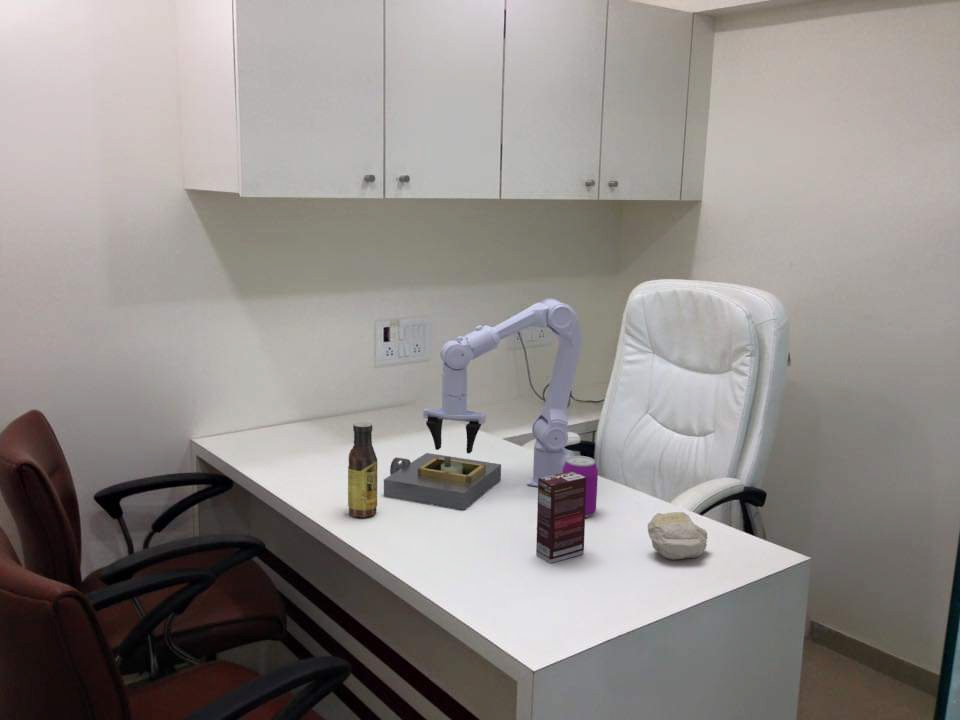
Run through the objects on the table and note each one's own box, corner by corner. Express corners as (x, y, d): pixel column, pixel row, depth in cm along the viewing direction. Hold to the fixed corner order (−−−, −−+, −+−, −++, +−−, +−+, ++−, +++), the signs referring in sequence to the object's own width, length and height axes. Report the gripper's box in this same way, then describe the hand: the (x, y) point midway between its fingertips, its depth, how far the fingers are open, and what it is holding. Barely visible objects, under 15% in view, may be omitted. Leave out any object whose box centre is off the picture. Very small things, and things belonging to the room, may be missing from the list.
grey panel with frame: (500, 480, 210) (501, 458, 209) (464, 510, 190) (464, 486, 189) (415, 466, 219) (415, 445, 217) (372, 494, 199) (372, 471, 198)
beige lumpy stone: (717, 557, 170) (675, 544, 177) (719, 515, 169) (677, 504, 176) (680, 569, 162) (638, 556, 169) (682, 525, 161) (639, 514, 168)
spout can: (466, 490, 202) (466, 458, 201) (448, 495, 199) (449, 461, 198) (454, 484, 206) (454, 452, 205) (436, 488, 203) (437, 456, 202)
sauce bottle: (371, 520, 183) (371, 429, 179) (343, 517, 185) (342, 427, 181) (381, 509, 190) (381, 421, 186) (354, 506, 191) (353, 419, 187)
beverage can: (598, 508, 193) (600, 456, 191) (593, 520, 186) (595, 467, 183) (564, 504, 195) (566, 453, 193) (557, 516, 188) (560, 463, 185)
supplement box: (568, 545, 173) (572, 469, 170) (584, 554, 169) (588, 476, 166) (534, 555, 168) (536, 477, 165) (549, 564, 164) (552, 484, 161)
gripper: (489, 392, 200) (488, 448, 203) (430, 387, 205) (430, 442, 207) (480, 399, 194) (479, 457, 197) (420, 393, 198) (419, 450, 201)
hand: (453, 450), depth 202 cm, fingers open, 7 cm apart
